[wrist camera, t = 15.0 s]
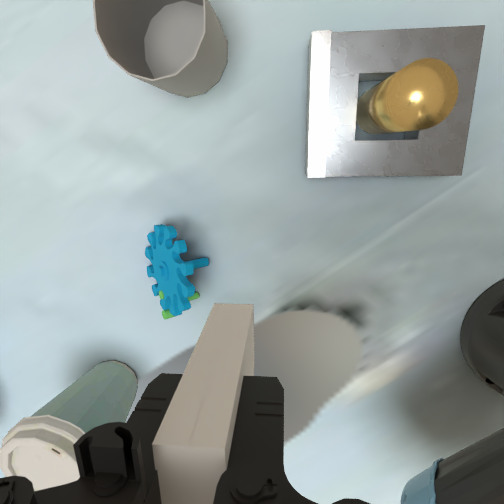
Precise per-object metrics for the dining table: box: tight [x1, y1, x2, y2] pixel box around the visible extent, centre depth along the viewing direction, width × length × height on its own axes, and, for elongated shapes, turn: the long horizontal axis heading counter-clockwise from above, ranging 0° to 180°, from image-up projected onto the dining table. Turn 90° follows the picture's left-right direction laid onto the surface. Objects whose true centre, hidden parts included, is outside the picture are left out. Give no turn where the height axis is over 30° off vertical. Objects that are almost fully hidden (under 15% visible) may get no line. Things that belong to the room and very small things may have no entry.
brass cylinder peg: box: [356, 58, 458, 134], centre depth 29 cm, size 4×4×12 cm
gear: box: [145, 224, 209, 319], centre depth 39 cm, size 11×6×10 cm
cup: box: [93, 0, 227, 98], centre depth 30 cm, size 8×8×10 cm
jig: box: [305, 25, 485, 177], centre depth 32 cm, size 14×12×5 cm
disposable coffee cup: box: [0, 360, 138, 491], centre depth 40 cm, size 11×11×15 cm
